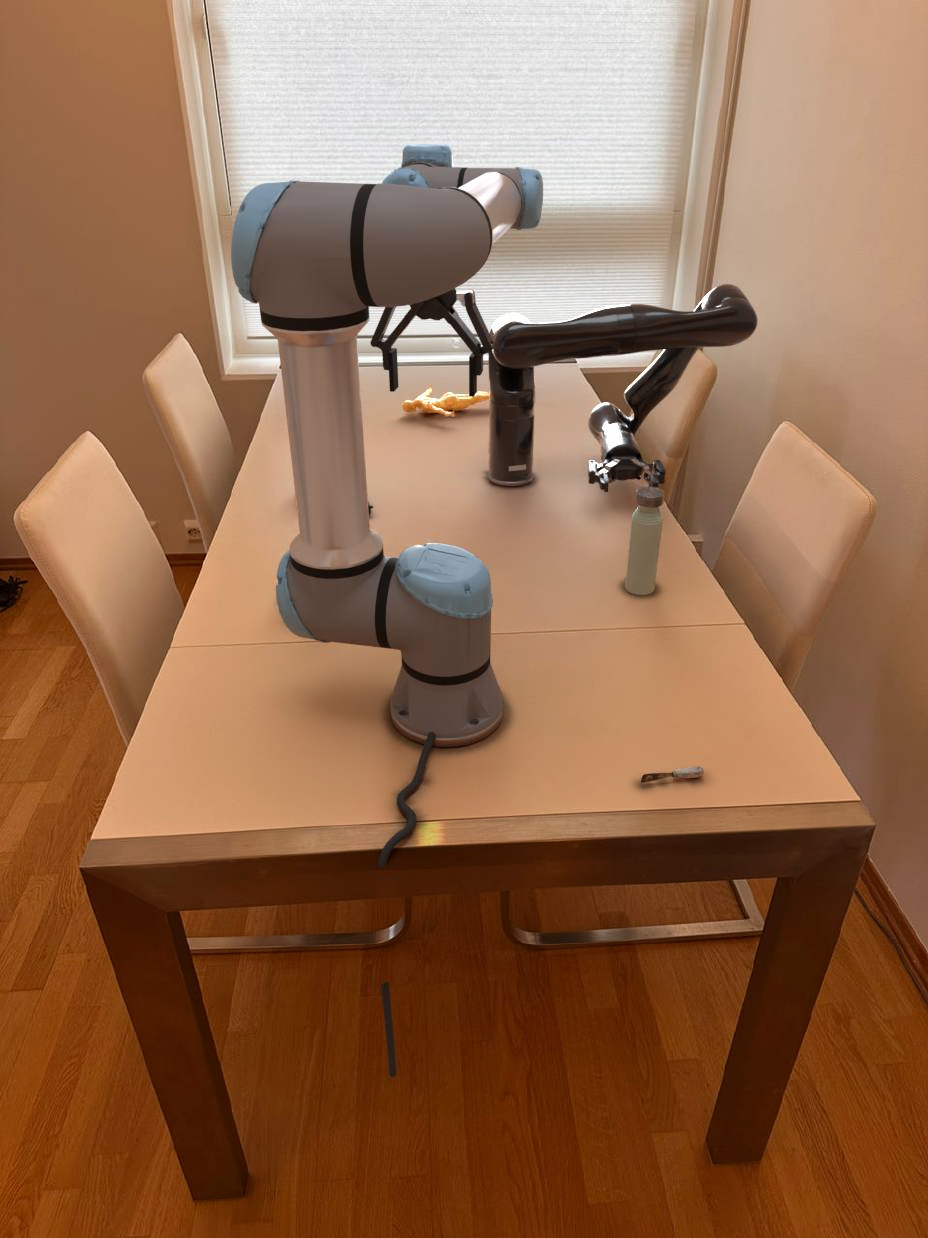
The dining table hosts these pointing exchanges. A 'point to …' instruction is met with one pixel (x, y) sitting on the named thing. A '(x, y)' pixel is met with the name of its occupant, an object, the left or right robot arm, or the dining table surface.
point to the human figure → (444, 402)
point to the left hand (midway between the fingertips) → (433, 391)
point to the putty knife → (674, 774)
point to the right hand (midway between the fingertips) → (630, 487)
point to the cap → (650, 497)
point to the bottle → (643, 550)
